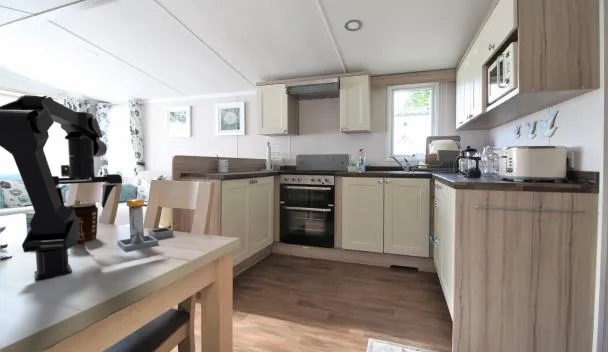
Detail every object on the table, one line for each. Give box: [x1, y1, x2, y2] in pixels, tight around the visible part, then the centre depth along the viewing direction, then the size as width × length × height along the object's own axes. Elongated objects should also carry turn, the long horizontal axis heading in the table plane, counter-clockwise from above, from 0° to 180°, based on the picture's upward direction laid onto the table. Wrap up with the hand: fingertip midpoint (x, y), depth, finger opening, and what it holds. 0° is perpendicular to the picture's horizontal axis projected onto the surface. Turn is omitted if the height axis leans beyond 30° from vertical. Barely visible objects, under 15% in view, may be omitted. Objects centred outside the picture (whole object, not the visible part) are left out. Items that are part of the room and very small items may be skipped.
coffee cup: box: [69, 202, 99, 247], centre depth 93 cm, size 9×8×13 cm
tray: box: [116, 234, 159, 252], centre depth 87 cm, size 9×9×2 cm
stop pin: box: [126, 198, 145, 245], centre depth 86 cm, size 5×5×14 cm
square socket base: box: [148, 227, 181, 241], centre depth 98 cm, size 9×8×3 cm
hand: (84, 209), depth 83 cm, fingers open, 9 cm apart
